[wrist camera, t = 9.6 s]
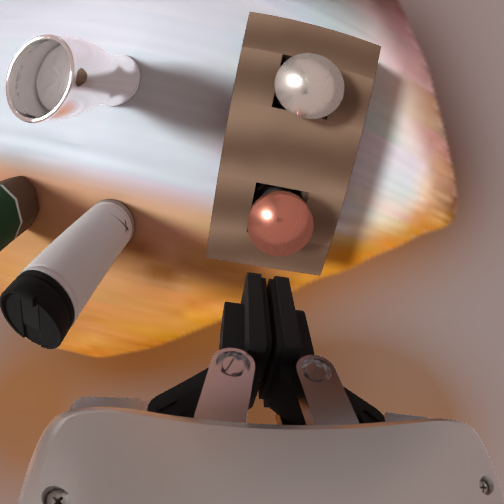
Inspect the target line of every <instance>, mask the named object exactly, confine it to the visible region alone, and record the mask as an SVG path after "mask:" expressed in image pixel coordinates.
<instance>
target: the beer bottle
mask: <svg viewBox="0 0 504 504" xmlns="http://www.w3.org/2000/svg"><path fill="white" fill-rule="evenodd" d="M38 210H39V205H38V201H37V196H36V191H35V188H34V187H33V186H32V185H31V184H30V183H29V182H28V181H26V180H25V179H24V178H23V177H22V176H18V177H13V178H9V179H6V180H3V181H1V182H0V251H1V250H2V249H3V248H4V247H6V246H7V245H8V244H9V243H10V242H12V241H13V240H14V239H15V238H17V237H18V236H19V235H20V234H21V233H23V232H24V231H25V230H26V229H27V228H28V227H30V226H31V225H32V223H33V221H34V218H35V216H36V214H37V212H38Z"/></svg>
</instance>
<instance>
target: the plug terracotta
mask: <svg viewBox="0 0 504 504" xmlns="http://www.w3.org/2000/svg"><path fill="white" fill-rule="evenodd" d="M313 226H314V223H313V217H312V214H311V212H310V210H309V208H308V206H307V204H306V203H305V202H304V201H303V200H302V199H301V198H300V197H299V196H297V195H295V194H293V193H292V192H291V189H289V188H284V187H279V186H274V185H268V184H263V183H262V184H261V185H260V186H259V187H258V188H257V190H256V193H255V203H254V204H253V205H252V207H251V209H250V211H249V214H248V220H247V229H248V234H249V237H250V239H251V241H252V243H253V244H254V245H255V247H256V248H258V249H259V250H260V251H262V252H264V253H266V254H268V255H272V256H287V255H291V254H293V253H295V252H297V251H299V250H300V249H302V248H303V247H304V246H305V245H306V244H307V243H308V241H309V240H310V238H311V235H312V233H313Z"/></svg>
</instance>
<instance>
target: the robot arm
mask: <svg viewBox="0 0 504 504" xmlns="http://www.w3.org/2000/svg"><path fill="white" fill-rule="evenodd" d="M258 391H259V399H264V407H270V408H271V409H272V410H273V411H274V412H276V414H275V420H276V424H277V425H270V424H252V423H246V419H247V413H248V410H249V409H250V408H251V407H252V406H253V404H254V401H255V398H256V395H257V392H258ZM65 492H66V493H65ZM18 504H504V496H503V493H502V489H501V487H500V483H499V480H498V477H497V475H496V472H495V469H494V467H493V464H492V462H491V459H490V457H489V455H488V452H487V450H486V448H485V446H484V444H483V442H482V441H481V439H480V437H479V435H478V434H477V433H476V431H475V430H474V429H473V428H472V427H470V426H469V425H467V424H465V423H463V422H460V421H456V420H452V419H443V418H427V417H421V416H412V415H403V414H395V413H388V412H386V413H385V414H384V415H382V414H381V412H380V411H378V410H377V409H376V408H374V407H373V406H371V405H370V404H368V403H367V402H366V401H364V400H363V399H361V398H360V397H358V396H357V395H355V394H353V393H352V392H351V391H349V390H348V389H346V388H345V387H343V385H342V383H341V381H340V378H339V376H338V374H337V372H336V369H335V368H334V366H333V364H332V363H331V362H330V361H328V360H327V359H325V358H323V357H320V356H318V355H314V351H313V346H312V342H311V338H310V333H309V329H308V325H307V321H306V316H305V313H304V311H300V310H295V307H294V302H293V297H292V292H291V287H290V282H289V278H286V277H278V276H275V277H274V279H269V281H268V285H267V286H266V279H265V278H261V274H256V273H248V272H247V275H246V280H245V285H244V290H243V295H242V300H241V304H239V303H231V302H225V304H224V310H223V316H222V324H221V333H220V344H219V351H218V352H216V353H215V354H214V355H213V357H212V359H211V363H210V366H209V368H207V369H205V370H204V371H202V372H200V373H198V374H197V375H195V376H193V377H191V378H189V379H188V380H186V381H184V382H182V383H180V384H179V385H177V386H175V387H173V388H171V389H169V390H167V391H165V392H164V393H162V394H160V395H158V396H156V397H155V398H153V399H152V400H151V401H141V399H140V398H107V397H82V398H80V399H78V400H76V401H75V402H74V403H73V404H72V406H71V409H70V410H69V411H66V412H64V413H61V414H59V415H57V416H56V417H55V418H54V419H53V420H52V421H51V422H50V423H49V424H48V426H47V427H46V429H45V430H44V432H43V434H42V436H41V438H40V440H39V442H38V444H37V446H36V449H35V451H34V453H33V456H32V458H31V461H30V464H29V467H28V470H27V473H26V476H25V479H24V483H23V487H22V491H21V494H20V499H19V503H18Z"/></svg>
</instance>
